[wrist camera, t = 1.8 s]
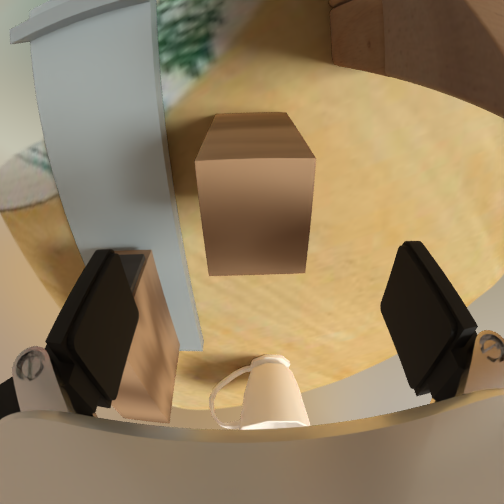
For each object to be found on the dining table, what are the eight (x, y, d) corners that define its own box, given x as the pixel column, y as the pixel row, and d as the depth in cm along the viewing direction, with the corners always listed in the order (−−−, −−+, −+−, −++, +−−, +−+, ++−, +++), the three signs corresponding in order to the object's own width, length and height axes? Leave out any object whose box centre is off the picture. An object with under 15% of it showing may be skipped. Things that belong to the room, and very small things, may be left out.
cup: (304, 374, 33) (312, 437, 27) (220, 385, 34) (218, 446, 28) (299, 341, 29) (309, 416, 22) (201, 354, 30) (195, 425, 23)
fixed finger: (99, 246, 20) (55, 334, 13) (150, 244, 20) (116, 340, 13) (140, 343, 27) (123, 417, 20) (180, 344, 27) (169, 423, 20)
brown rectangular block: (215, 114, 16) (194, 161, 10) (286, 112, 16) (316, 158, 10) (221, 196, 19) (210, 282, 13) (284, 194, 19) (304, 280, 13)
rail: (39, 10, 10) (9, 10, 8) (155, -29, 10) (138, -43, 8) (127, 338, 28) (120, 364, 26) (203, 341, 28) (201, 368, 26)
